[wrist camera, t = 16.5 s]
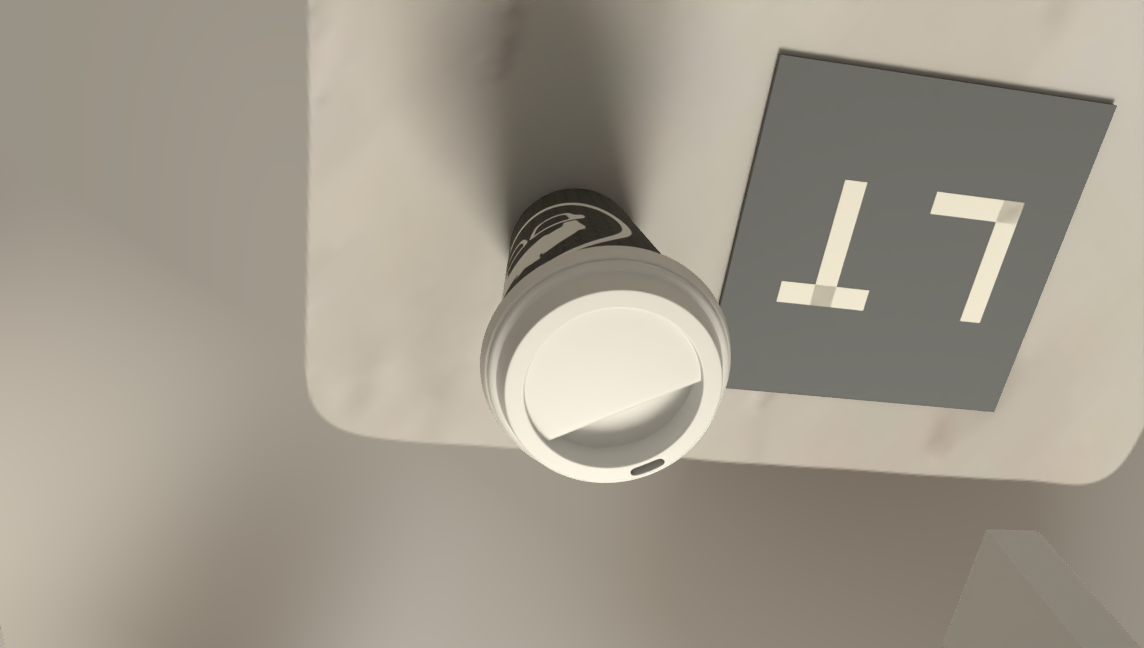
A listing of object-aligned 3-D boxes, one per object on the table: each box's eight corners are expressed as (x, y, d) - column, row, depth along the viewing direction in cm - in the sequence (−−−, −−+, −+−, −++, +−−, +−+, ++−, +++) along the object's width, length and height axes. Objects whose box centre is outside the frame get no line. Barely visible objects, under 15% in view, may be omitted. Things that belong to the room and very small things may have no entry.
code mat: (778, 54, 41) (781, 54, 41) (1112, 104, 44) (1117, 105, 44) (700, 383, 48) (701, 386, 48) (991, 409, 51) (994, 412, 51)
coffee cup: (483, 336, 46) (484, 507, 32) (476, 159, 42) (475, 269, 28) (659, 330, 47) (733, 495, 33) (669, 156, 43) (758, 263, 29)
